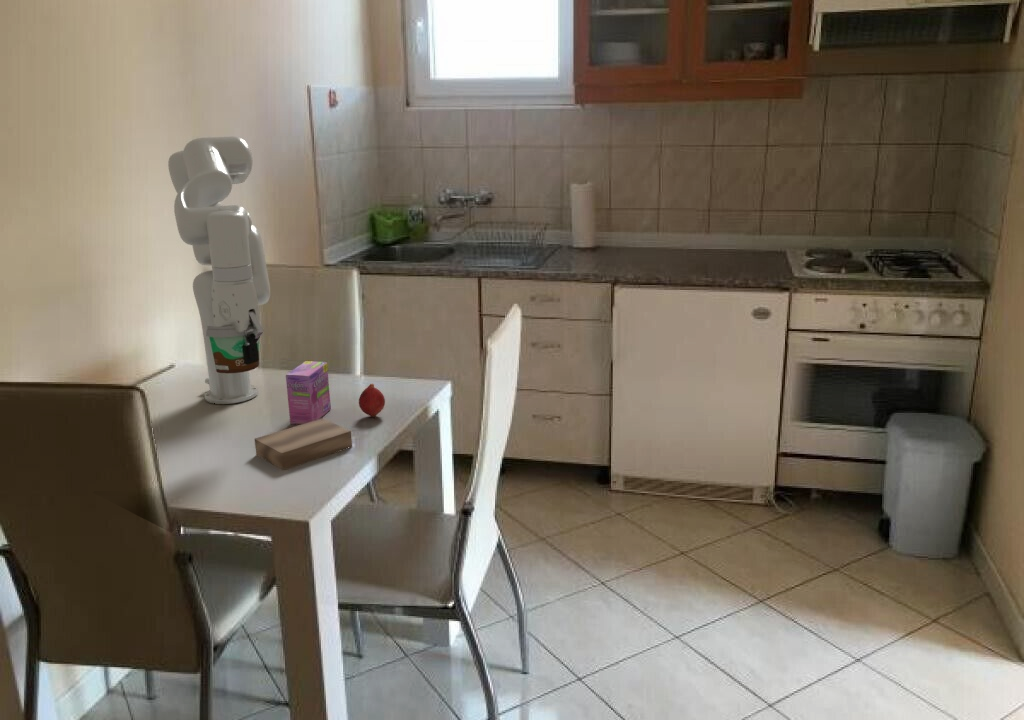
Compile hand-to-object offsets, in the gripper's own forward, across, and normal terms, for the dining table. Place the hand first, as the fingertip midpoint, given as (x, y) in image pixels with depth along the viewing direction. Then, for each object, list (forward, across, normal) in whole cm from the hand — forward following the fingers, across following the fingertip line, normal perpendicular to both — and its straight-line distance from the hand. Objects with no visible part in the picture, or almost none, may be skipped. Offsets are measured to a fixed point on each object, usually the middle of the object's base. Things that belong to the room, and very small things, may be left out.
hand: (242, 359), depth 174 cm
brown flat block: (+19, +12, +4) cm, 23 cm away
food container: (+2, +1, 0) cm, 2 cm away
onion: (+19, +10, +26) cm, 33 cm away
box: (+19, -2, +18) cm, 26 cm away
